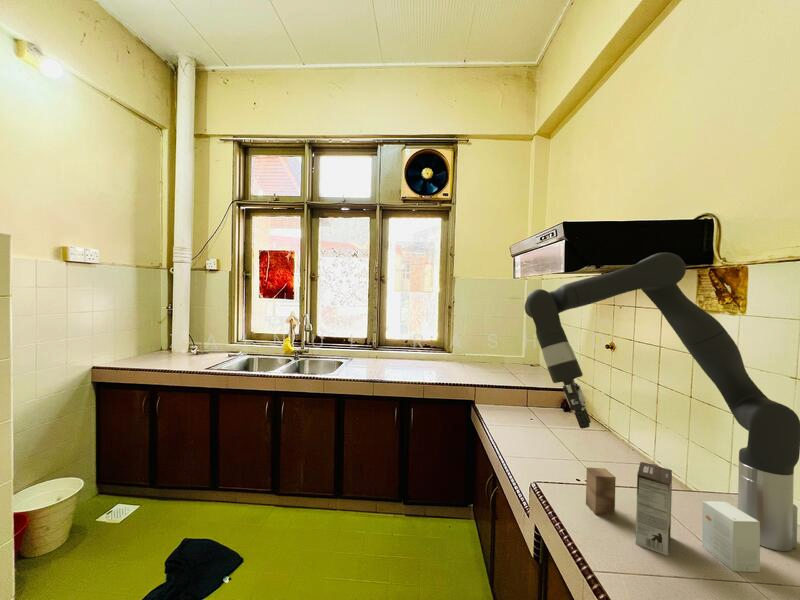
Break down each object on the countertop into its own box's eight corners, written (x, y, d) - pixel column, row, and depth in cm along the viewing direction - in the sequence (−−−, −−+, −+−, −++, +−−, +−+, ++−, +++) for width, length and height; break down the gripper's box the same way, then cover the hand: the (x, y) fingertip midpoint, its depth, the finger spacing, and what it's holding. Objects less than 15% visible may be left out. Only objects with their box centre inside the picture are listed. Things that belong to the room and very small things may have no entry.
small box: (760, 573, 74) (761, 522, 74) (733, 572, 74) (734, 521, 74) (725, 547, 82) (726, 501, 82) (701, 546, 82) (702, 500, 82)
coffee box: (638, 525, 89) (640, 460, 89) (671, 537, 85) (672, 469, 85) (634, 544, 82) (636, 473, 82) (669, 557, 78) (671, 483, 78)
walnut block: (604, 505, 98) (605, 468, 98) (614, 515, 93) (615, 477, 93) (585, 504, 98) (586, 467, 98) (595, 514, 93) (596, 476, 93)
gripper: (574, 356, 86) (602, 426, 81) (577, 359, 98) (602, 419, 93) (543, 365, 89) (568, 432, 84) (550, 366, 101) (572, 425, 96)
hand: (586, 425), depth 88 cm, fingers open, 8 cm apart
